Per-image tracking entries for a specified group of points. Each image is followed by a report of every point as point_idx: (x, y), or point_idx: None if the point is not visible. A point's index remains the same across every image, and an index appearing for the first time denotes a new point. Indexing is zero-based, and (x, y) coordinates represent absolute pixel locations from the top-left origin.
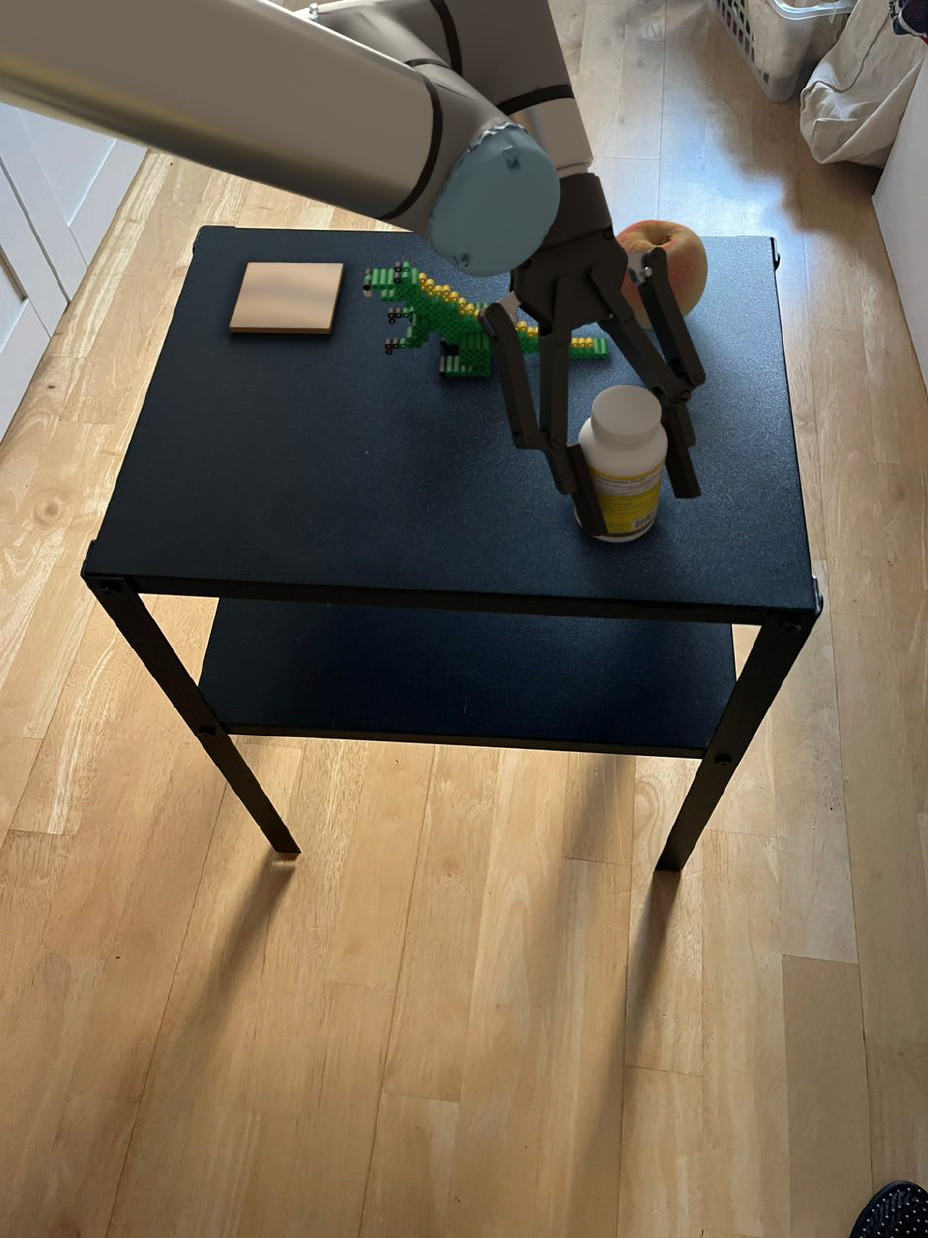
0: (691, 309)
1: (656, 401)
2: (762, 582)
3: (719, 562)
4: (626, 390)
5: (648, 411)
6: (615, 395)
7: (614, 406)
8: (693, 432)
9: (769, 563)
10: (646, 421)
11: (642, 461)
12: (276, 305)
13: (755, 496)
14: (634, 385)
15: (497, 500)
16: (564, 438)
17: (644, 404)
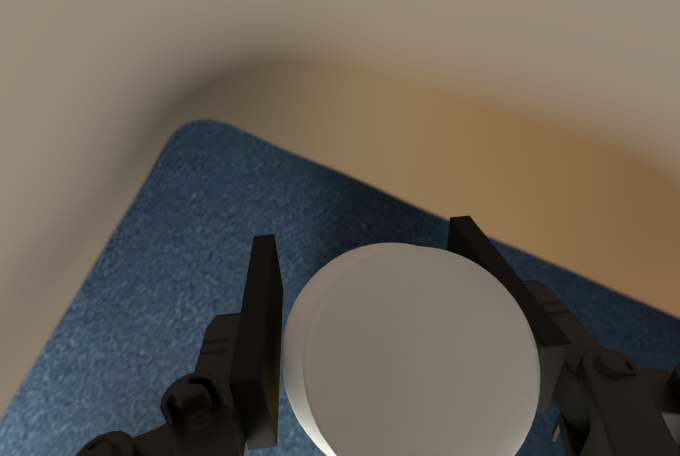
0: None
1: (314, 355)
2: (221, 152)
3: (258, 201)
4: (392, 453)
5: (358, 323)
6: (439, 443)
7: (459, 390)
8: (206, 338)
9: (194, 176)
10: (382, 282)
11: (389, 249)
12: None
13: (139, 295)
14: None
15: (541, 446)
16: (594, 367)
17: (356, 361)
